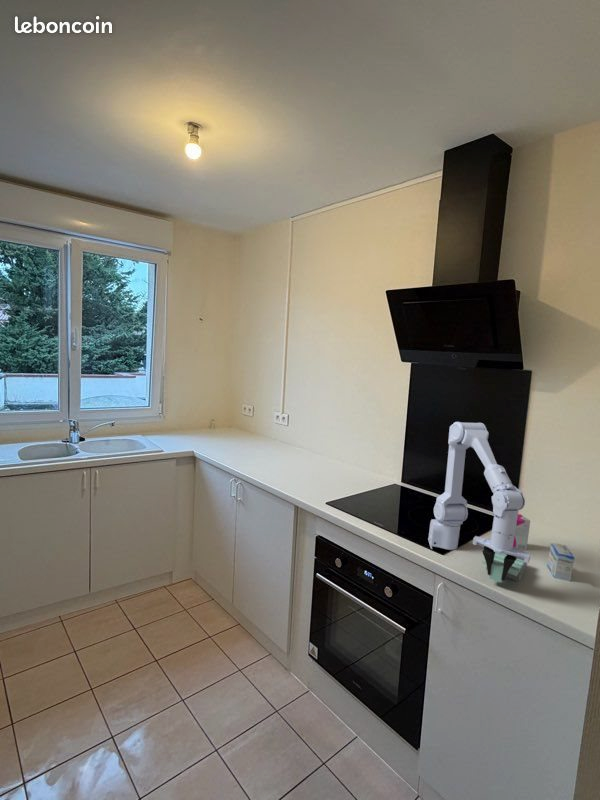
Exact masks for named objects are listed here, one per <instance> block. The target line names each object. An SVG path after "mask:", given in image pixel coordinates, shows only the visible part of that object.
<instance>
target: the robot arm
mask: <svg viewBox="0 0 600 800" xmlns="http://www.w3.org/2000/svg"><path fill="white" fill-rule="evenodd" d="M489 435H490V434H489V431H488V430H487V427H486V424H484V423H482V422H460V421H455V422H453V424H451V425H450V426H449V432H448V442H447V443H448V451H447V454H448V455H447V464H446V474H445V483H444V484H445V485H444V492H443V493H442V494H440V495H438V496H437V497H436V501H435V504H434V507H433V515H434V519H432V518H431V520H430V523H429V530H428V531H429V532H428V538H427V540H428V543H429V547H430V549H431V550H433V547H435V548H440V549H444V550H449V551H454V550H457V549H458V545H459V539H460V531H461V525H463V524H464V523H463V522H464V521H466V520H467V519H468V517H469V516H468V515H469V511H468V506H467V505H468V501H467V499H465V497H464V496H462V494H463V493H462V492H463V483H464V471H465V459H466V453H467V451H466V450H467V449H469V448H472V449H473V450H474V451H475V453H476V455H477V457H478V458H479V460H480V461H481V463H482V465H483V466H484V471H483V475H484V477H485V480H486V482H487V484H488V486H489V488H490V490H491V492H492V493H493V495H492V496H491V504H492V508H493V509H492V511H493V514H494V515H493V521H492V528H491V535H490V539H489V538H485V537H480V536H477V535H475V536H474V537H473V539H472V540H473V541H472V545H474V546H480V547H482V548H483V550H482V555H483V557H484V558H483V559H485V560H486V564H487V565H486V567H487V570H486V571H487V575H488V576H490V573H491V566H492V563H493V561H494V556H495V552H497V553H499V554H502V553H503V554H506V555H507V556H506V557H505V558H504V567H503V573H502V578H501V580H502V582H504V581H505V580H506V578H507V577H506V575H507V573H508V571H509V569H510V567H511V566H512V565H513V563H514V562H515V561H516V559H520V560H523V561H524V562H526V563H527V564H529V563H530V561H531V553H528V552H526V551H524V550H519V549H517V548H515V547H513V542H514V536H515V530H516V523H517V517H518V514H519V511H520V510H523V508H524V507H525V503H526V498H525V495H524V493H523V492H522V490H521V489H519V488H517V487H516V486H515V485H514V484H513V483H512V480H511V479H510V477H509V475H508V473H507V471H506V469H505V467H504V466H503V465H500V464H498V462H497V460H496V459H495V456H494V453H493V451H492V448H491V446H490V443H489V441H488V439H489Z"/></svg>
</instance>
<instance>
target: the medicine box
mask: <svg viewBox="0 0 600 800" xmlns="http://www.w3.org/2000/svg"><path fill="white" fill-rule="evenodd" d="M574 562H575V556H574V555H573V554H572V552H571V551H570V549H569V548H568V547H567V545H565V544H564V545H563V544H560V543H555V542H554V543H553V542H552V543H550V548H549V553H548V559H547V564H546V567H547V569H548V570H549V572H550V574H551V575H552V577H553V578H554V579H558V580H561V581H567V582H571V580H572V575H573V574H572V573H573V569H574Z"/></svg>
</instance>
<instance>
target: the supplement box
mask: <svg viewBox="0 0 600 800" xmlns="http://www.w3.org/2000/svg"><path fill="white" fill-rule="evenodd" d="M530 526H531V519H528V517H526V516H524V515H523V514H521V513H520V514H519V513H518V517H517V523H516V530H515V536H514V542H513V547H515V548H517V549H519V550H521V551H527V548H528V541H529V535H530V534H529V533H530Z"/></svg>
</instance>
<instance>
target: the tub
mask: <svg viewBox="0 0 600 800" xmlns="http://www.w3.org/2000/svg"><path fill="white" fill-rule="evenodd" d="M527 567H528V563H526V562H525V563H524V565H523V566H522V568H521V570H520V571H519V573H518V575H517V576H515V575H512V574H510V573H507V575H506V578H508V579H510V580H512V581H513V580H514V581H515V582H520V580H521V578H522V577H523V574H524V573H525V571H526V570H527ZM485 570H486V571H487V566H486V568H485Z"/></svg>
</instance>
